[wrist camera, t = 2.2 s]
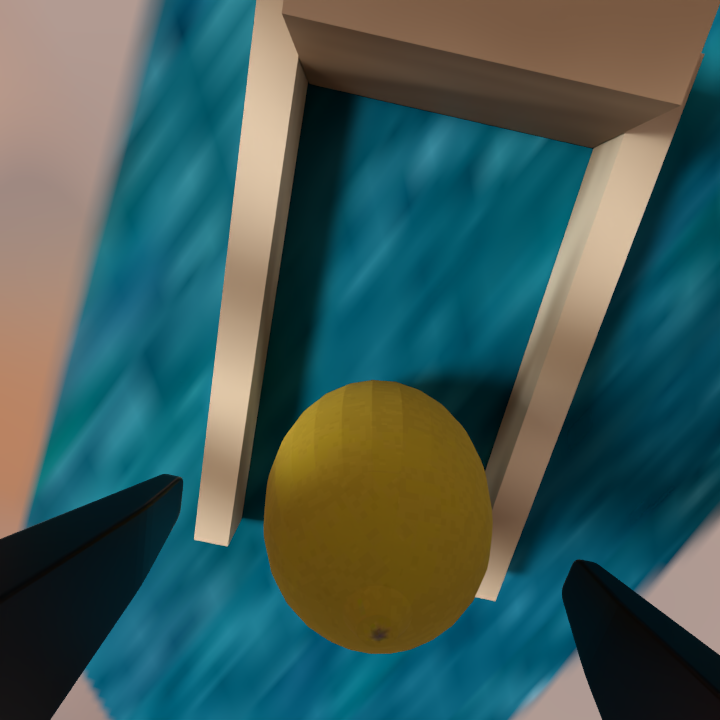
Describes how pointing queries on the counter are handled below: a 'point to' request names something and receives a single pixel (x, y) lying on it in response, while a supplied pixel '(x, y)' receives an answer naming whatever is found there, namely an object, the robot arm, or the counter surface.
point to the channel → (476, 103)
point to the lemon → (378, 517)
